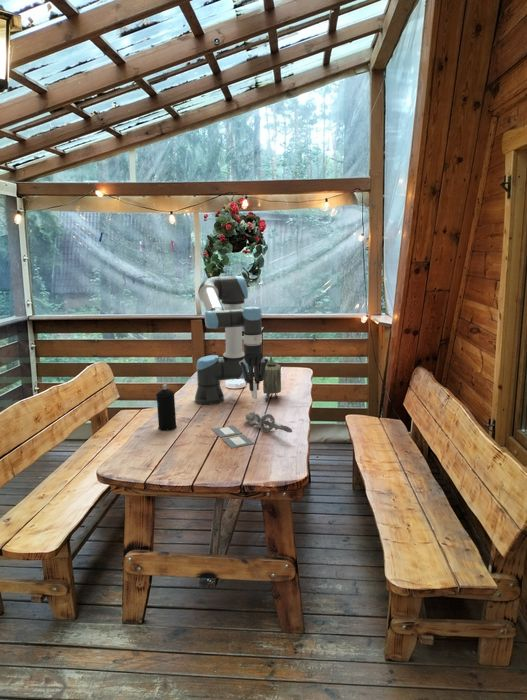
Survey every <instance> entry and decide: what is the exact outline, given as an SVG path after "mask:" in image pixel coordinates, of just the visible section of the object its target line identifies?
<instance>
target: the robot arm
mask: <svg viewBox="0 0 527 700" xmlns="http://www.w3.org/2000/svg"><path fill="white" fill-rule="evenodd" d="M197 293H198V297H199V300H200V301H201V302H202V303H203V304H204V307H205V312H204V323H205V325H204V326H205V328H207V329H214V330H215V329H223V328H224V331H225V332H224V335H225V352H224V353H222V357H220V356H219V355H217V354H213V355H212V354H211V355H206V356H202V357H200V358H198V360H197V361H196V376H197V378H196V379H197V380H196V381H197V388H196V391H195V394H194V395H195V396H194V402H195V403H197V404H199V405H216V404H220V403H222V402H223V401H224V400H225V395H224V393H223V390H222V388H221V381H227V380H230V381H231V380H241V379H243V380H244V382H245V383H246V384H248V385H249V388H248V389H249V391H250V392H251V398H252V399H253V400H254V399H256V400H257V399H258V391H259V390H260V383H261V382H263V377H264V372H265V367H266V364H267V362H268V361H269V359H268V358H266V357H264V355H263V345H262V343H263V338H262V337H263V336H262V335H263V334H262V331H263V330H262V329H263V328H262V325H263V324H262V315H263V314H262V310H261V309H262V308H261V307H259V306H246V307H245V306H244V307H242V306H243V305H244V304H245V300H247V299H248V297H249V292H248V285H247V282H246V279H245V277H244V276H242V275H226V276H224V275H223V276H211V277H208V278H207V279H205V280H203V282H202V283H201V284H200V285H199V287H198V292H197ZM243 344H244V346H243Z"/></svg>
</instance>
